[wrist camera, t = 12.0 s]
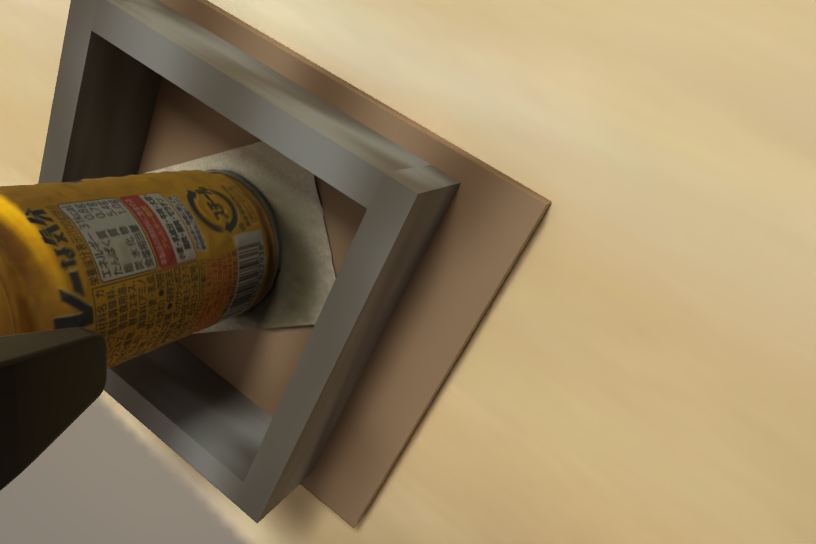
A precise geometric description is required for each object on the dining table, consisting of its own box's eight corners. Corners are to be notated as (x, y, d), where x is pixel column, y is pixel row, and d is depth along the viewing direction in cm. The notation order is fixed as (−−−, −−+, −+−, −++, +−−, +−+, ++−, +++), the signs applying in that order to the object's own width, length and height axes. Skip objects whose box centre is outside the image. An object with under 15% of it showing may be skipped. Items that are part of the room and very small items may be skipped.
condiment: (148, 172, 25) (-242, 207, 14) (306, 130, 21) (-69, 135, 11) (190, 332, 26) (-143, 473, 16) (347, 319, 22) (47, 495, 12)
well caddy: (551, 201, 19) (518, 221, 15) (362, 516, 25) (306, 585, 22) (129, -45, 24) (25, -77, 20) (62, 271, 30) (-26, 292, 26)
